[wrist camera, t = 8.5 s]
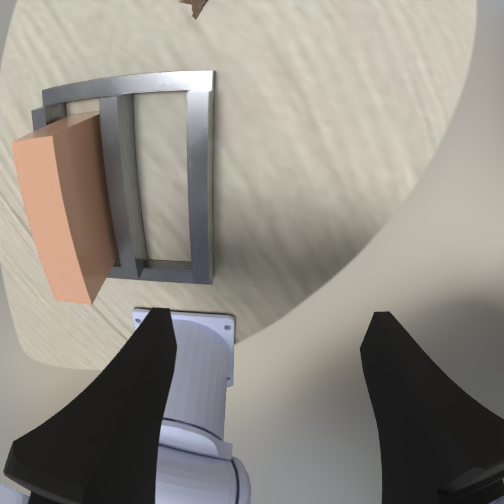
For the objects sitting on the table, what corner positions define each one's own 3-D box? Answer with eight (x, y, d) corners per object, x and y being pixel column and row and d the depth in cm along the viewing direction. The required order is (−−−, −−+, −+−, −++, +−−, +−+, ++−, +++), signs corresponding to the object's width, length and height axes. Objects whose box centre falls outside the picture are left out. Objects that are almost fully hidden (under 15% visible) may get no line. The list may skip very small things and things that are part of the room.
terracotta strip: (125, 244, 20) (91, 304, 15) (93, 242, 20) (55, 300, 15) (109, 109, 15) (52, 135, 10) (73, 114, 15) (11, 142, 10)
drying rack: (213, 275, 21) (210, 296, 20) (82, 266, 21) (70, 285, 19) (214, 70, 14) (209, 71, 12) (51, 87, 14) (30, 93, 12)
